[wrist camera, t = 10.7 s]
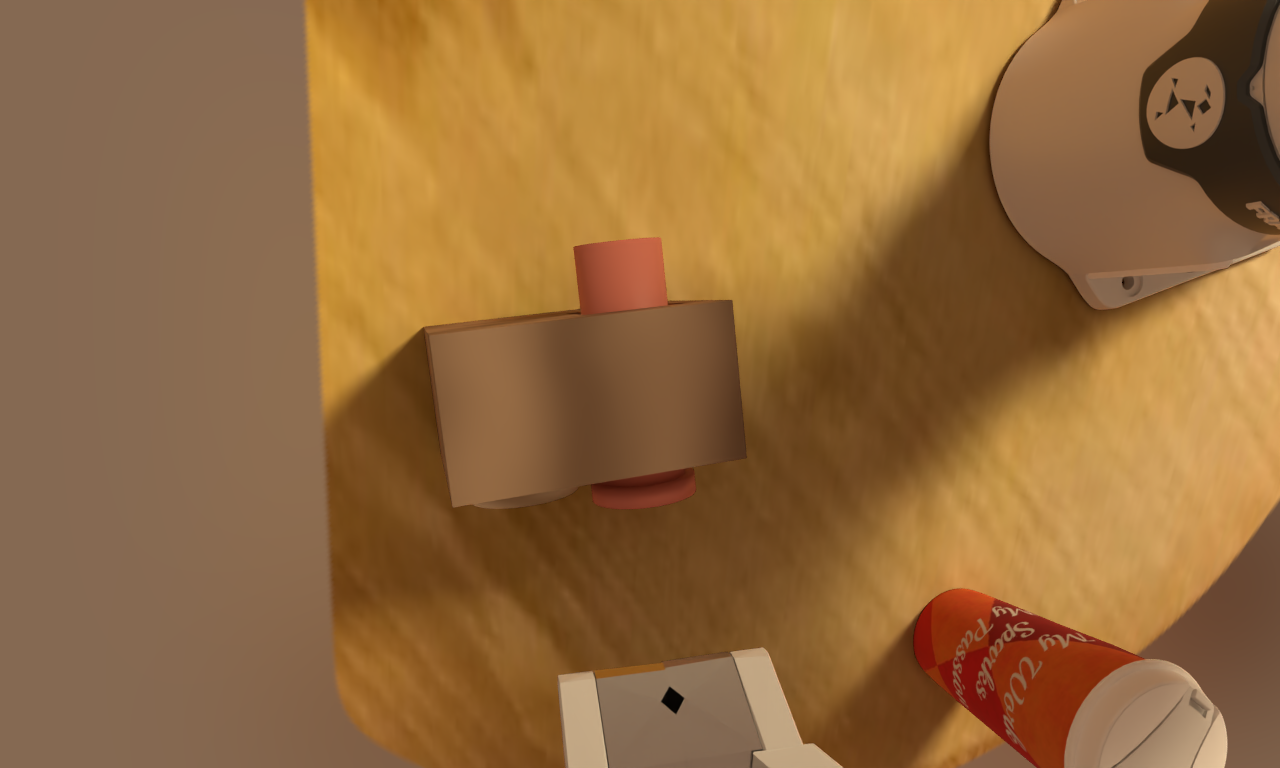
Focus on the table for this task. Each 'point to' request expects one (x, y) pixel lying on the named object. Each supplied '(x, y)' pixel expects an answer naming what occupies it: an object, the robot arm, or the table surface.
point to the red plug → (618, 284)
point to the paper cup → (1065, 689)
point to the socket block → (583, 399)
